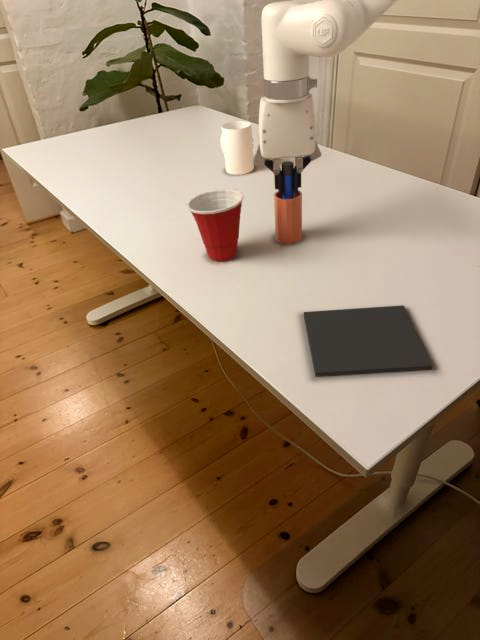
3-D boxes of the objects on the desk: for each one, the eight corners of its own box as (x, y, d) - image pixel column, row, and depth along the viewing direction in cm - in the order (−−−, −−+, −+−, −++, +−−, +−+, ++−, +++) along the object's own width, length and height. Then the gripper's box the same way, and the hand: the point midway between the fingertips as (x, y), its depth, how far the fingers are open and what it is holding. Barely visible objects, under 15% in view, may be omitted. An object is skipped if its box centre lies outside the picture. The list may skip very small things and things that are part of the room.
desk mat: (403, 309, 74) (403, 305, 74) (432, 369, 63) (433, 365, 63) (303, 315, 75) (303, 311, 75) (315, 376, 64) (315, 372, 64)
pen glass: (300, 230, 98) (300, 187, 93) (303, 242, 94) (303, 198, 88) (274, 232, 99) (273, 189, 93) (276, 244, 94) (275, 200, 89)
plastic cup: (208, 238, 99) (201, 184, 92) (256, 244, 95) (252, 188, 88) (185, 264, 91) (175, 207, 84) (235, 272, 87) (229, 213, 80)
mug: (235, 159, 137) (232, 116, 130) (260, 168, 129) (258, 124, 122) (212, 166, 134) (207, 123, 127) (236, 177, 126) (232, 131, 119)
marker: (293, 232, 97) (293, 160, 88) (294, 237, 95) (294, 164, 86) (282, 232, 97) (280, 161, 88) (283, 238, 95) (281, 165, 86)
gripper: (329, 80, 82) (326, 181, 93) (239, 88, 82) (246, 187, 94) (337, 89, 76) (332, 196, 87) (239, 98, 76) (247, 202, 88)
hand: (287, 190), depth 90 cm, fingers closed on marker, 2 cm apart
